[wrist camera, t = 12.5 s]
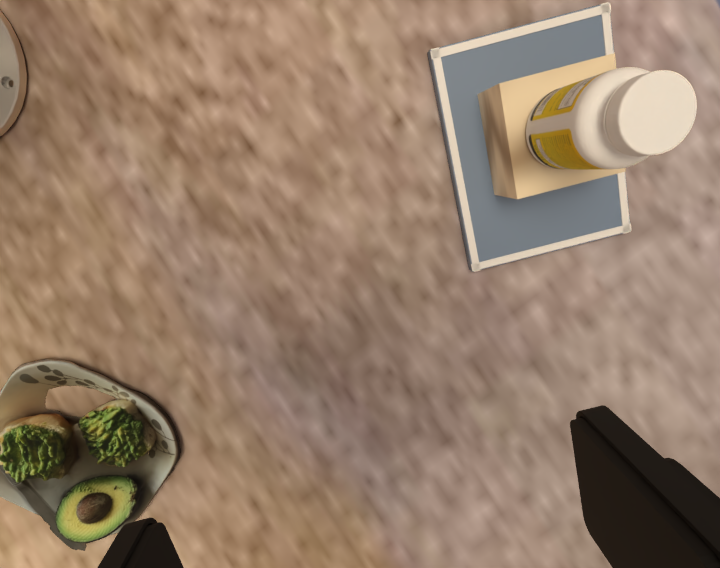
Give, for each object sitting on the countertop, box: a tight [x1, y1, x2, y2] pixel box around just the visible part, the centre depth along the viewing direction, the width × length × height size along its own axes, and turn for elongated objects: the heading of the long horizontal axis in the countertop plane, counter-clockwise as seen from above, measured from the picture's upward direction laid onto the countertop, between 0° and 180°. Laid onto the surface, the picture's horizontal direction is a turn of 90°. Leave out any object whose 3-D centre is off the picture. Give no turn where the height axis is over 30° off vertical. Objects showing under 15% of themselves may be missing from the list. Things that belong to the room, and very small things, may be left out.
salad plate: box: [0, 359, 181, 551], centre depth 41 cm, size 19×18×5 cm
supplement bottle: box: [526, 67, 697, 170], centre depth 27 cm, size 5×5×10 cm
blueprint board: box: [427, 2, 631, 272], centre depth 37 cm, size 18×14×1 cm
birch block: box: [477, 53, 626, 199], centre depth 34 cm, size 8×8×5 cm
